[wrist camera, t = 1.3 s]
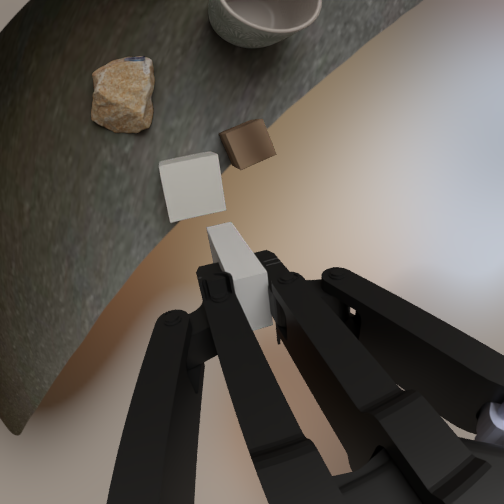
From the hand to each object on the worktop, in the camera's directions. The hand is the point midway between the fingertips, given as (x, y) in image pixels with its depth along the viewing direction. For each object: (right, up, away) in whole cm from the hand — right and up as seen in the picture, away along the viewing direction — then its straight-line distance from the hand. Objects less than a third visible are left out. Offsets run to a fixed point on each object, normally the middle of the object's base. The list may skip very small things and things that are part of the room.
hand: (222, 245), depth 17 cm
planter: (+1, +33, +14) cm, 35 cm away
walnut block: (0, +15, +21) cm, 26 cm away
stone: (-15, +20, +14) cm, 29 cm away
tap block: (-7, +9, +21) cm, 24 cm away
